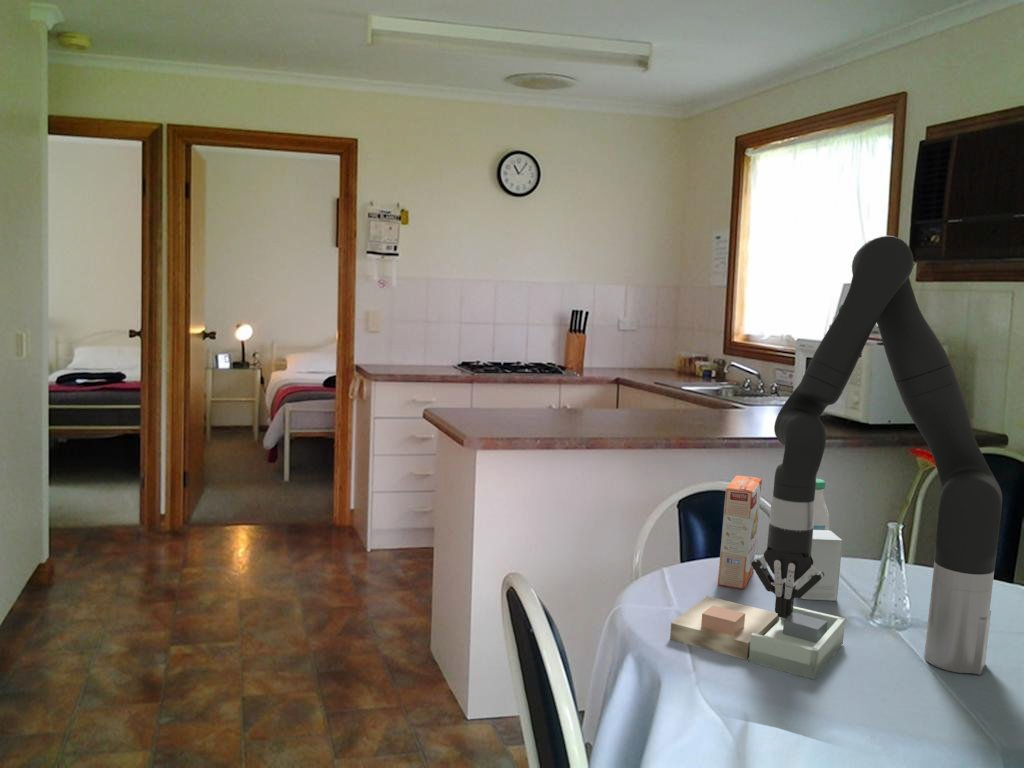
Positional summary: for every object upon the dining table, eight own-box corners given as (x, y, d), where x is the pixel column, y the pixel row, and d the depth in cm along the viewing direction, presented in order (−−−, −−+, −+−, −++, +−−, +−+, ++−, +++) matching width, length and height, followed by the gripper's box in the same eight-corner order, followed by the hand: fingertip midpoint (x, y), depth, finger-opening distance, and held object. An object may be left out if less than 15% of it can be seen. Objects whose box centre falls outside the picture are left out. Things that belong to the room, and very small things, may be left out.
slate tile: (826, 634, 168) (827, 621, 168) (816, 643, 164) (817, 629, 164) (793, 625, 172) (794, 612, 172) (782, 633, 168) (783, 620, 168)
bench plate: (778, 629, 176) (779, 613, 175) (746, 659, 162) (748, 642, 161) (706, 611, 183) (707, 596, 183) (670, 639, 169) (671, 622, 169)
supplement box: (838, 601, 192) (843, 540, 190) (801, 599, 192) (806, 538, 190) (826, 588, 199) (831, 529, 197) (790, 587, 199) (795, 528, 197)
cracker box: (746, 591, 196) (754, 491, 193) (716, 586, 198) (723, 487, 195) (755, 571, 208) (763, 477, 206) (727, 566, 211) (734, 473, 208)
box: (842, 644, 170) (845, 618, 169) (814, 679, 155) (817, 651, 154) (781, 628, 176) (783, 603, 175) (748, 661, 161) (750, 634, 160)
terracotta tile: (744, 626, 168) (745, 613, 168) (734, 635, 164) (735, 621, 164) (711, 618, 171) (712, 605, 171) (701, 627, 167) (702, 613, 167)
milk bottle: (797, 560, 217) (804, 474, 215) (830, 568, 213) (838, 480, 210) (783, 567, 211) (790, 479, 209) (817, 576, 207) (825, 485, 204)
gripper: (835, 525, 168) (826, 619, 170) (761, 511, 175) (754, 602, 178) (823, 534, 162) (814, 632, 164) (747, 519, 169) (740, 613, 171)
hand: (783, 616), depth 171 cm, fingers closed
